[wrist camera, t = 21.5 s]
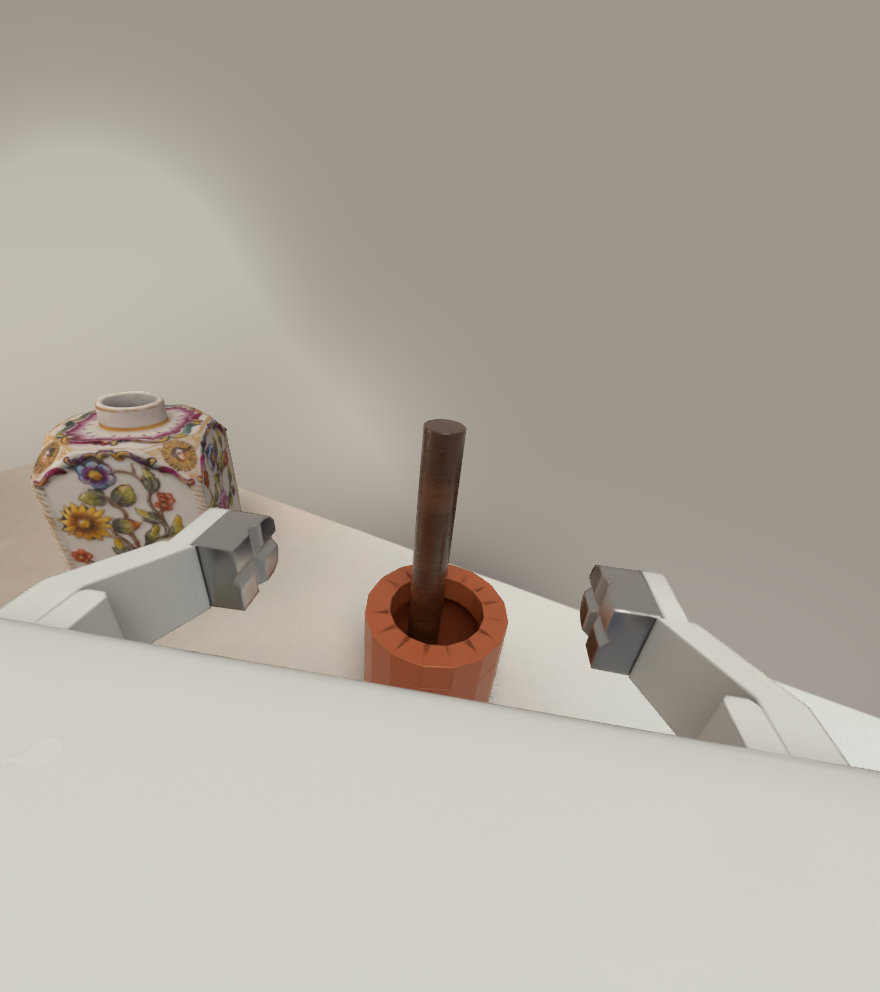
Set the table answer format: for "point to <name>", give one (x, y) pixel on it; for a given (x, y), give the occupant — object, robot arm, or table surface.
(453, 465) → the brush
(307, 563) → the table surface
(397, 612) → the terracotta plant pot
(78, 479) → the decorative jar
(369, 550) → the table surface
